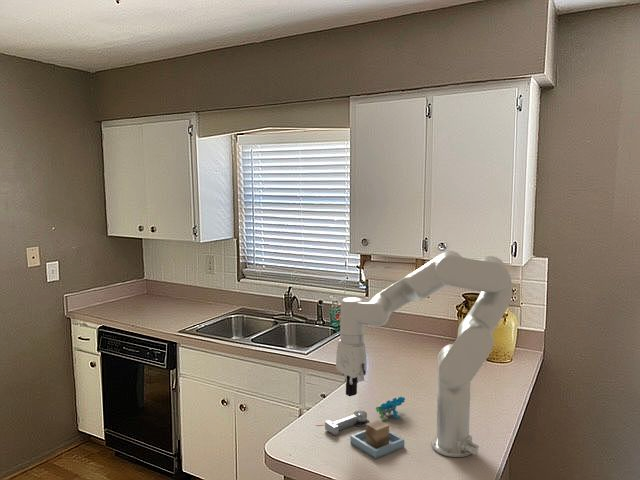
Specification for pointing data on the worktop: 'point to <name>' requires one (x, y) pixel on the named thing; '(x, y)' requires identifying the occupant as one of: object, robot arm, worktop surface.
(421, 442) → the worktop surface
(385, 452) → the tray
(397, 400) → the gear
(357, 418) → the lever
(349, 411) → the worktop surface
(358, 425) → the pivot base
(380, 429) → the block
